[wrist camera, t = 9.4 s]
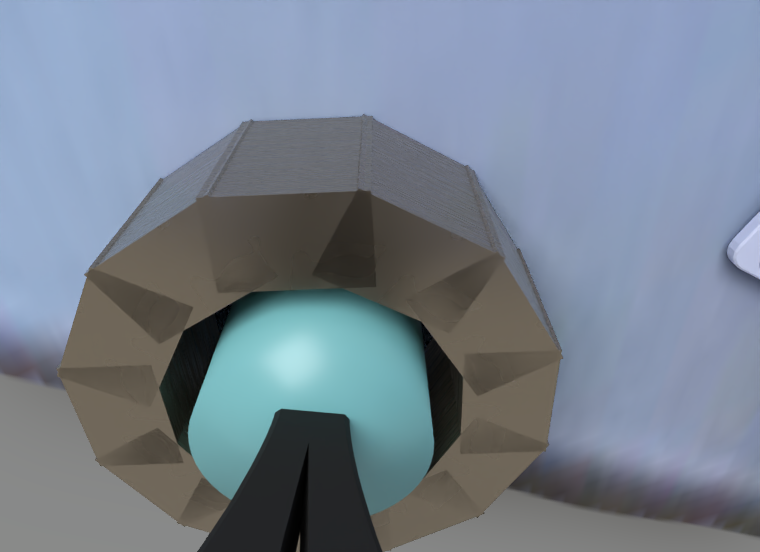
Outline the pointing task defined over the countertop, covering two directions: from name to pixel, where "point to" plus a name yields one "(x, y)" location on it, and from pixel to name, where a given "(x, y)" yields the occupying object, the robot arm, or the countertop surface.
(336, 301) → the teal rounded cylinder
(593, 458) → the countertop surface
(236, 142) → the brown faceted tube
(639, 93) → the countertop surface
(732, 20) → the countertop surface
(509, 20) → the countertop surface
